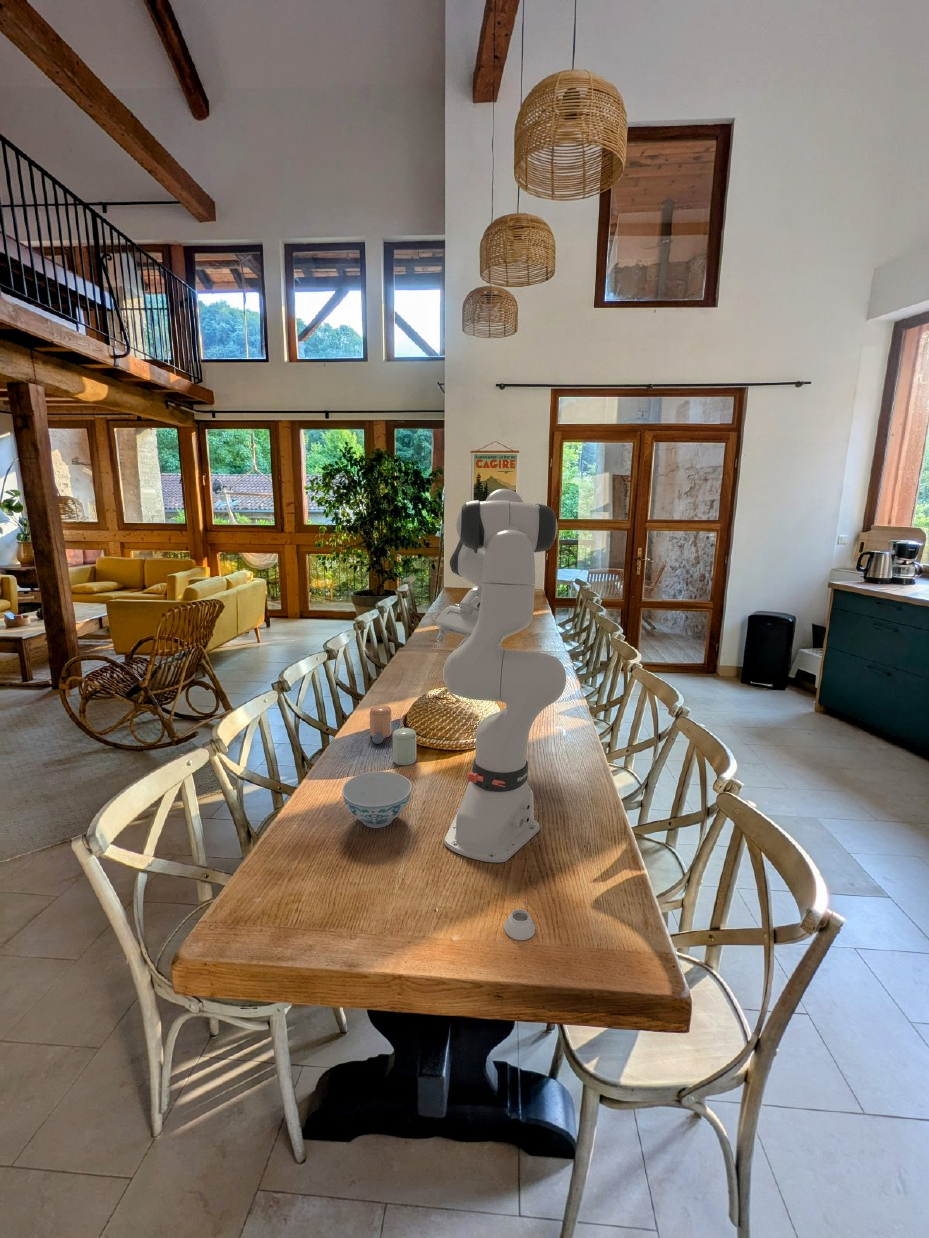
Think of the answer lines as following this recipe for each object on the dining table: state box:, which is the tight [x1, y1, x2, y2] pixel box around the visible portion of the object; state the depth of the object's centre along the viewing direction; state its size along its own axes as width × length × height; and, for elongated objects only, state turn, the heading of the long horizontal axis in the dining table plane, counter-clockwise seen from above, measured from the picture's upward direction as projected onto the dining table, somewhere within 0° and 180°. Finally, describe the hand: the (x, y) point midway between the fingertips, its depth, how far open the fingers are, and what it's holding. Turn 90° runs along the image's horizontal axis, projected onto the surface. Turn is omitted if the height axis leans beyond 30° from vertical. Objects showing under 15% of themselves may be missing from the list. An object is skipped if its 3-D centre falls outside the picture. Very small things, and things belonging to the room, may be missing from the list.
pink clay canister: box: [369, 704, 393, 739], centre depth 169 cm, size 6×6×8 cm
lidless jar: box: [503, 908, 536, 941], centre depth 93 cm, size 5×3×5 cm
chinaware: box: [341, 770, 413, 829], centre depth 124 cm, size 15×15×8 cm
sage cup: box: [392, 727, 417, 766], centre depth 152 cm, size 6×6×8 cm
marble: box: [371, 733, 385, 745], centre depth 163 cm, size 3×3×3 cm
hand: (448, 644), depth 164 cm, fingers open, 8 cm apart
